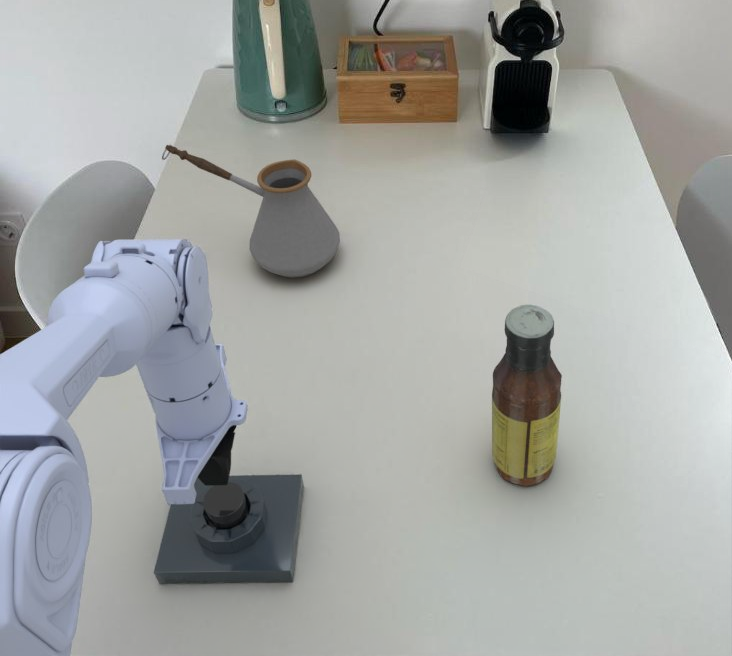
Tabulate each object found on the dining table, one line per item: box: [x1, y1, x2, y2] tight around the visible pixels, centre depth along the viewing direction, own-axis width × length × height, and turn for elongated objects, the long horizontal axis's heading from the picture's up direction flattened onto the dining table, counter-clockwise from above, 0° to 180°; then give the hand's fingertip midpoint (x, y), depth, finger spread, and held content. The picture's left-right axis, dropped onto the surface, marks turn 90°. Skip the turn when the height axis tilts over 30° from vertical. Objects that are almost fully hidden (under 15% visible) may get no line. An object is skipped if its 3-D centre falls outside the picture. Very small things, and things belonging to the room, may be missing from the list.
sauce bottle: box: [491, 304, 563, 487], centre depth 73 cm, size 7×6×20 cm
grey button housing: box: [153, 473, 305, 585], centre depth 74 cm, size 12×10×4 cm
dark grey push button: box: [203, 482, 248, 529], centre depth 72 cm, size 4×4×2 cm
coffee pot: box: [161, 144, 341, 279], centre depth 101 cm, size 21×12×15 cm, turn 74°
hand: (217, 478), depth 70 cm, fingers closed
